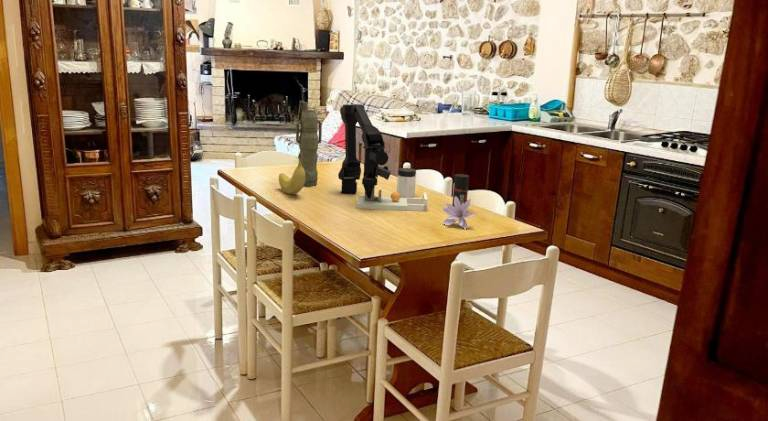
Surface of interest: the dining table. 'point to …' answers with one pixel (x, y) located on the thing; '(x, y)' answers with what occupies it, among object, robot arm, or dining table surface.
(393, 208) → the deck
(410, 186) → the jar
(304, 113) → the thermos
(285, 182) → the banana
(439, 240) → the dining table surface
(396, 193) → the ball
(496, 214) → the dining table surface
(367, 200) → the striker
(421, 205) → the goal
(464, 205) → the water lily
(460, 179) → the deodorant
